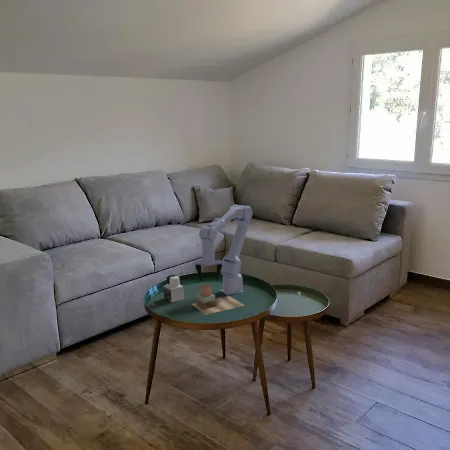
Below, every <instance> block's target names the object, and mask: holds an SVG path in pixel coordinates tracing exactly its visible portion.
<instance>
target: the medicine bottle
mask: <svg viewBox="0 0 450 450" xmlns="http://www.w3.org/2000/svg"><path fill="white" fill-rule="evenodd" d="M184 291H185V290H184V286H183V285H181V284H180V276H179V275H177V274H170V275H168V276H166V284H165V285H163V299H164V300H166V301H168V302H169V303H175V302H179V301H182V300H183V301H184V300H185V292H184Z"/></svg>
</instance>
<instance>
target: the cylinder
mask: <svg viewBox="0 0 450 450" xmlns="http://www.w3.org/2000/svg"><path fill="white" fill-rule="evenodd" d="M211 293H212V285H211V284H203V285H201V286H200V294H201V296H203V297H208V296H211Z"/></svg>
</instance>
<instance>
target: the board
mask: <svg viewBox="0 0 450 450" xmlns="http://www.w3.org/2000/svg"><path fill="white" fill-rule="evenodd" d="M215 300H216V301H217V306H214V307H210V308H206V309H203V308H201V307H200V306H198V305H197V303H196V302H194V303H191V305H192V306H193V307H195V309H198V310H199V311H200V312H201V313H203V314H204V315H206V316H207V315H210V314H211V315H212V314H215V313H219V312H223V311H228V310H232V309H236V308H241V307H244V306H245V304H243V303H242V302H240V301H238V300H237V299H235V298H233V297H232V296H230V295H226V296H221V297H217V298H216V297H215Z"/></svg>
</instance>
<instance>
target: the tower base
mask: <svg viewBox="0 0 450 450" xmlns="http://www.w3.org/2000/svg"><path fill="white" fill-rule="evenodd" d="M195 300H196V302H195V303H197V305H198V306H200V307H201V308H203V309H206V308H210V307H214V306H217V301H216V300H215V301H211V302H207V303H203V302H201V301H200V300H198V298H196V299H195Z"/></svg>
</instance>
